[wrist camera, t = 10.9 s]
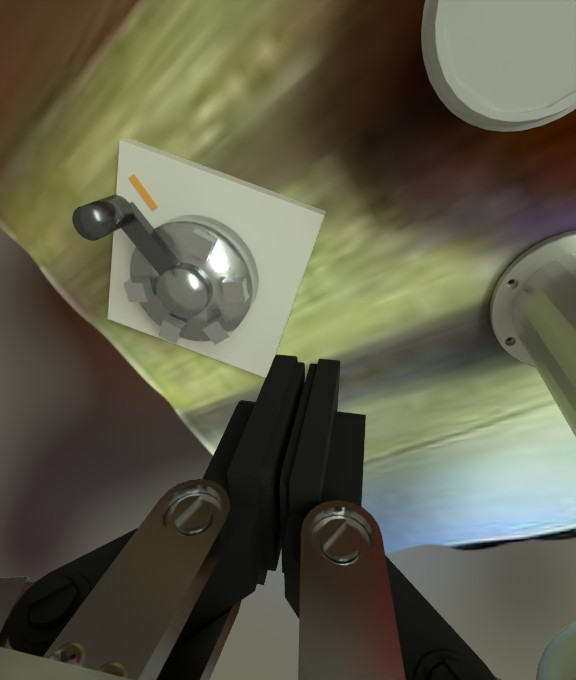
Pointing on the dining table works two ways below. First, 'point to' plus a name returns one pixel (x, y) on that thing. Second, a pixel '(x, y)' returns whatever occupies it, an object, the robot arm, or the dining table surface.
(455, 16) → the disposable coffee cup
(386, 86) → the dining table surface
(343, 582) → the robot arm
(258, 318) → the base plate
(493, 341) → the dining table surface
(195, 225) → the silver lever knob
